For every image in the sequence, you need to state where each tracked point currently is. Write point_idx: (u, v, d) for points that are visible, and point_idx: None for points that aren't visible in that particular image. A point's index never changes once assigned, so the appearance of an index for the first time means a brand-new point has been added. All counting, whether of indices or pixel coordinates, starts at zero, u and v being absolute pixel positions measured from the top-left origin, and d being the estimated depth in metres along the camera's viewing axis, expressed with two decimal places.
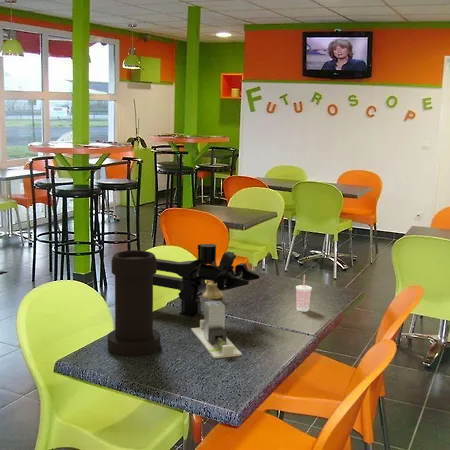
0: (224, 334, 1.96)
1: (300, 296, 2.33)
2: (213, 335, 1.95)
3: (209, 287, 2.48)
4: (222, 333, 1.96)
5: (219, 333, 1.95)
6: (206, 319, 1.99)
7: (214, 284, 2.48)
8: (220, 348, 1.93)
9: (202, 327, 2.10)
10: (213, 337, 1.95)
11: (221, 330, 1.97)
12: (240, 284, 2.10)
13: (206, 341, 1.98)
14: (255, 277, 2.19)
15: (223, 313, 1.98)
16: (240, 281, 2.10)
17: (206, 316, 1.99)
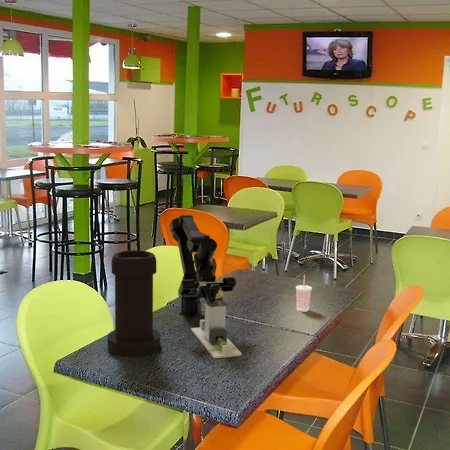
0: (224, 334, 1.96)
1: (300, 296, 2.33)
2: (213, 335, 1.94)
3: None
4: (222, 333, 1.95)
5: (219, 333, 1.95)
6: (207, 320, 1.98)
7: None
8: (220, 348, 1.93)
9: (202, 327, 2.10)
10: (213, 337, 1.95)
11: (221, 330, 1.96)
12: None
13: (206, 341, 1.98)
14: None
15: (224, 314, 1.97)
16: None
17: (206, 317, 1.99)
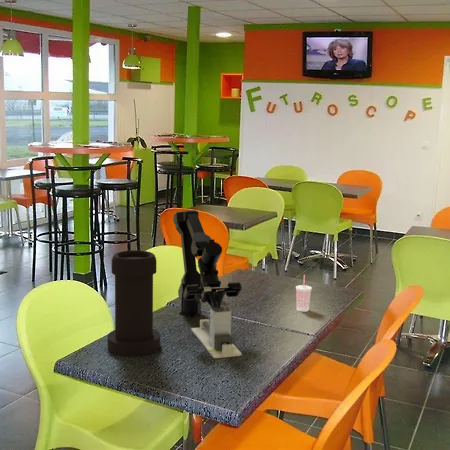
0: (230, 340, 1.91)
1: (300, 296, 2.33)
2: (219, 341, 1.89)
3: None
4: (228, 339, 1.90)
5: (224, 339, 1.90)
6: (212, 325, 1.93)
7: None
8: None
9: (202, 327, 2.10)
10: (219, 343, 1.90)
11: (227, 336, 1.91)
12: None
13: (206, 341, 1.98)
14: None
15: (229, 319, 1.92)
16: None
17: (211, 322, 1.94)
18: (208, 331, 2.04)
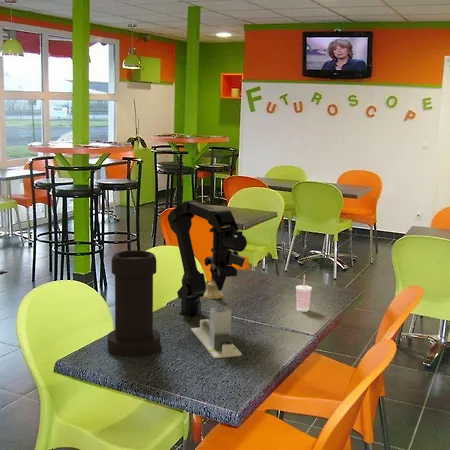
0: (230, 340, 1.91)
1: (300, 296, 2.33)
2: (219, 341, 1.89)
3: (209, 287, 2.48)
4: (228, 339, 1.90)
5: (224, 339, 1.90)
6: (212, 325, 1.93)
7: (214, 284, 2.48)
8: None
9: (202, 327, 2.10)
10: (219, 343, 1.90)
11: (227, 336, 1.91)
12: (218, 283, 2.11)
13: (206, 341, 1.98)
14: None
15: (229, 319, 1.92)
16: (221, 283, 2.12)
17: (211, 322, 1.94)
18: (208, 331, 2.04)
